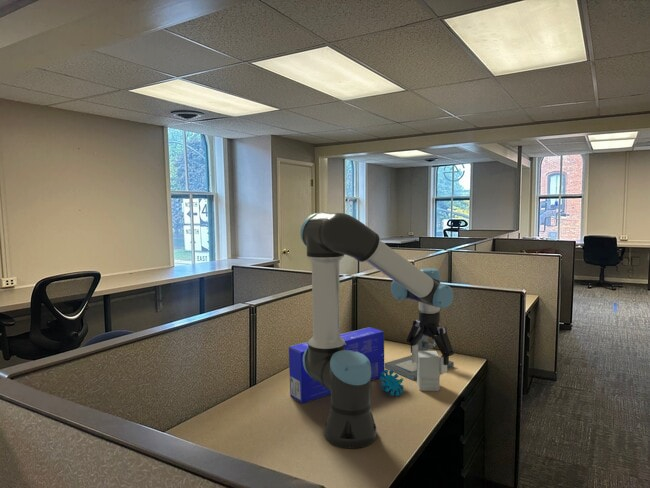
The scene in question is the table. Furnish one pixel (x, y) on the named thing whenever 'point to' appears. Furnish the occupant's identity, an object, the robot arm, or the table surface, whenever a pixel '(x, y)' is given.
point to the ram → (434, 341)
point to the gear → (391, 383)
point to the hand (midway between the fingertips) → (428, 367)
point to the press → (406, 365)
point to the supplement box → (428, 370)
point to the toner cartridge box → (356, 341)
